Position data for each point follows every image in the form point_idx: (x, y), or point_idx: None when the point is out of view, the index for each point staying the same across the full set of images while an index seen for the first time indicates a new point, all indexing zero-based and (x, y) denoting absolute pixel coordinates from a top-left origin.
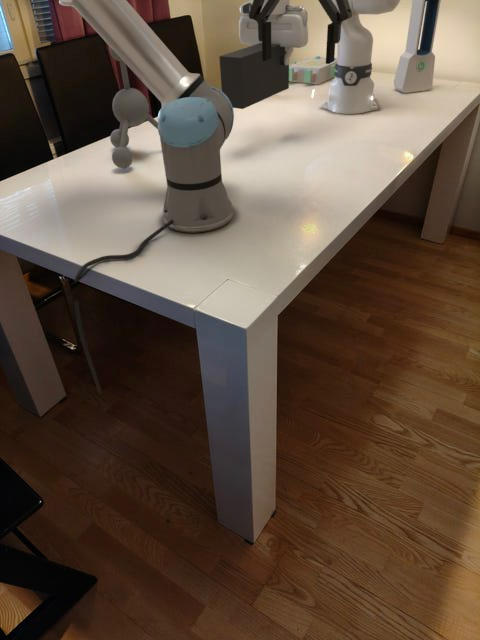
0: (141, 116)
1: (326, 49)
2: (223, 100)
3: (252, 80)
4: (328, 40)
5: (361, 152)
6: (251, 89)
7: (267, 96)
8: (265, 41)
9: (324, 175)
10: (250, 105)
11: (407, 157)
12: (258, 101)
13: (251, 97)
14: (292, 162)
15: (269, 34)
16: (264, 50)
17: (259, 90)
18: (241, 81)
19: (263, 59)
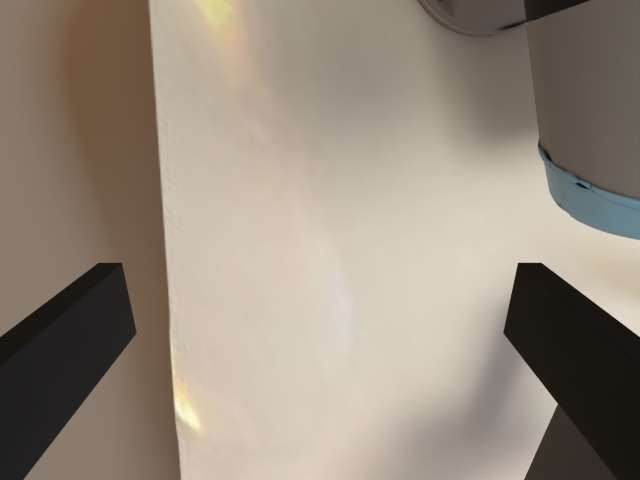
0: None
1: (74, 300)
2: (636, 159)
3: (596, 477)
4: (21, 336)
5: (276, 404)
6: (581, 448)
7: (529, 474)
8: (590, 324)
9: (299, 277)
10: (557, 406)
11: (185, 407)
12: (543, 438)
13: (567, 427)
14: (391, 317)
15: (597, 417)
16: (560, 289)
17: (558, 469)
18: None
19: (537, 267)
